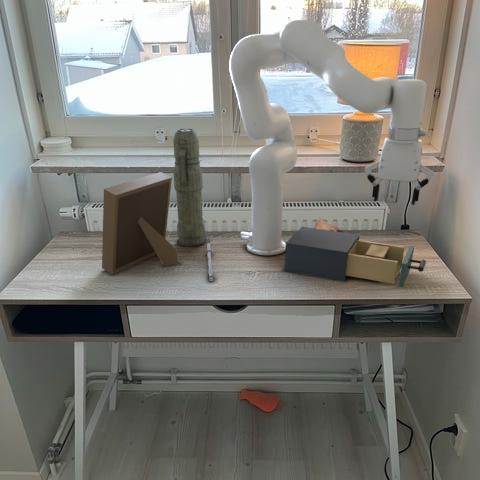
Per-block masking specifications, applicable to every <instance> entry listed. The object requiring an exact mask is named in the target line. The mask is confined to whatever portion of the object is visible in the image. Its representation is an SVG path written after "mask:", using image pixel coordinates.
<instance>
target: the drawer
mask: <svg viewBox="0 0 480 480" xmlns="http://www.w3.org/2000/svg"><path fill="white" fill-rule="evenodd" d="M371 245H379V246H386V247H389V253H388V260H387V259H380V258H374V257H367V256H365V254H366V253H367V251H368V249H369V248H370V246H371ZM405 249H406V248H405V246H403V245H396V244H389V243H383V242H377V241H369V240H363V239H359V240H357V241H356V243H355V244H354V246H353V247H352V248H351V250H350V251H349V253H348V255H347V264H346V274H345V275H346V276H347V277H351V278H352V277H353V278H358V279H359V278H360V279H364V280H370V281H376V282H381V283H387V284H394V285H395V282H396V280H397V278H398V275H399V279H398V285H397V286H398V287H399V288H404V286H405V283H406V281H407V278H408V276H409V273H410V271H411V270H418V272H420V273H421V272H422V273H423V272H424V270H425V266H426V264H427V260H426V259H421V260H419V259H413V257H414V250H415V246H413V245H409V246H408V249H407V251H406V253H404V252H405ZM404 254H405V256H404ZM412 263H416V264H419V266H417V265H416V266H415V265H412ZM399 273H400V274H399Z"/></svg>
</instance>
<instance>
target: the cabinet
mask: <svg viewBox="0 0 480 480" xmlns="http://www.w3.org/2000/svg"><path fill="white" fill-rule="evenodd" d="M357 240H360V234H356V233H349V232H342V231H339V232H336V231H329V230H322V229H315V227H306V226H301V227H300V228H299V229H298V230H297V231H296V232H295V233H294V234H293V235H292V236H290V238H289V239H288V240H287V241H286V242H285V243H286V249H285V251H284V252H285V253H284V271H286V272H290V273H295V274H301V275H307V276H312V277H317V278H325V279H329V280H335V281H340V282H345V281H346V279H347V277H348V276H346V275H345V274H346V264H347V255H348V253H349V251H350V250H351V248H352V247H353V246H354V244H355V243H356V241H357Z"/></svg>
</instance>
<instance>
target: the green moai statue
mask: <svg viewBox="0 0 480 480" xmlns="http://www.w3.org/2000/svg"><path fill="white" fill-rule="evenodd" d="M172 143H173V155H174V168H173V172H172V173H173V182H174V183H173V187H174V190H175V193H176V208H177V224H176V232H177V236H178V243H179V244H180V245H182V246H186V247H197V246H200V245H202V244H204V243H205V241H206V238H205V234H206V225H205V220H204V218H203V195H202V190H203V188H204V186H203V185H204V183H203V170H202V167H201V161H200V139H199V137H198V133H197V130H195V129H193V128H179V129H177V130H175V132H174V137H173V140H172Z"/></svg>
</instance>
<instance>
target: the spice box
mask: <svg viewBox="0 0 480 480" xmlns="http://www.w3.org/2000/svg"><path fill="white" fill-rule="evenodd" d="M388 253H389V247H386V246H379V245H371V246H370V248H369V249H368V251H367V253H366V254H365V256H367V257H374V258H380V259H387V260H388Z"/></svg>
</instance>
